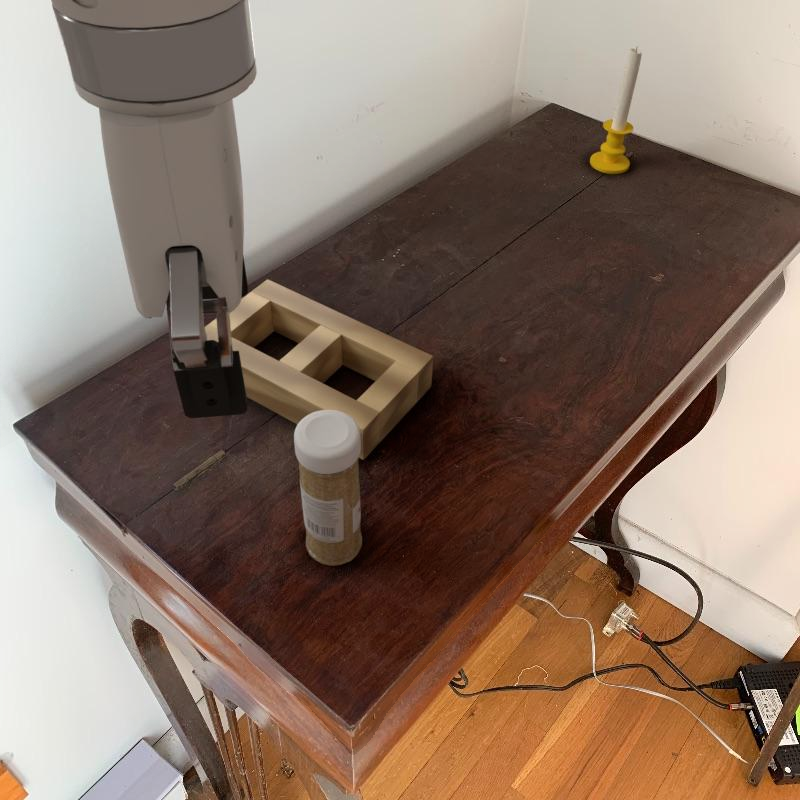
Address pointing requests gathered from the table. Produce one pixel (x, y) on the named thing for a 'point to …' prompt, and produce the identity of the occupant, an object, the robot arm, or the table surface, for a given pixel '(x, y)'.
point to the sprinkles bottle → (330, 485)
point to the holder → (324, 362)
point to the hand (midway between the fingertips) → (219, 349)
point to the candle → (619, 123)
